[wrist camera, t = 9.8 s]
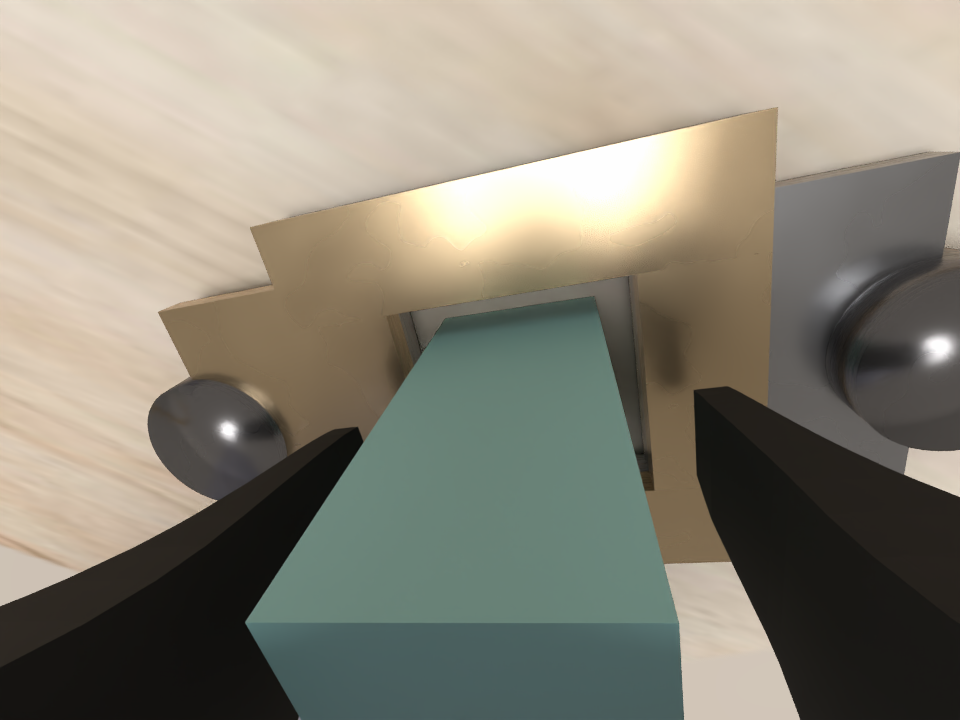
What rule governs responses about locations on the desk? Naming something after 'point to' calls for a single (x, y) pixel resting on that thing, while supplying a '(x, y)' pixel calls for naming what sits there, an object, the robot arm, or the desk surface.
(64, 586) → the robot arm
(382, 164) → the desk surface
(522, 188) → the tan slotted board
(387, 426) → the teal pin
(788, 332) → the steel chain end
